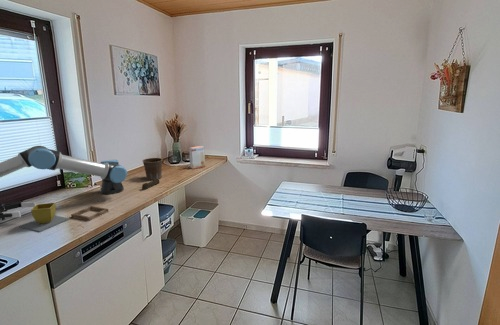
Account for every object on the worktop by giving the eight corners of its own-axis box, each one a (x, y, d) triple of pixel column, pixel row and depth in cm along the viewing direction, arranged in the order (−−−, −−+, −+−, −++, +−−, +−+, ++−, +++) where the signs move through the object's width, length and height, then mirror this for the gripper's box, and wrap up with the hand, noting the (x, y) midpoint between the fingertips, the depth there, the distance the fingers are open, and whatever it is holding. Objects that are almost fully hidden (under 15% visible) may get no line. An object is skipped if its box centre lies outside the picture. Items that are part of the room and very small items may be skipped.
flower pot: (39, 219, 151) (36, 204, 149) (58, 217, 154) (55, 202, 152) (33, 226, 143) (30, 210, 141) (53, 223, 146) (50, 208, 144)
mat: (49, 215, 158) (49, 214, 158) (69, 219, 153) (69, 218, 153) (18, 227, 143) (18, 226, 143) (40, 232, 138) (39, 231, 138)
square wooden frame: (91, 208, 168) (91, 205, 167) (108, 211, 163) (108, 208, 163) (71, 217, 155) (70, 214, 155) (89, 220, 151) (88, 217, 151)
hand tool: (155, 183, 220) (155, 177, 219) (159, 183, 219) (159, 178, 218) (139, 190, 203) (138, 184, 202) (143, 191, 201) (143, 185, 200)
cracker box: (202, 166, 277) (201, 145, 272) (205, 167, 272) (204, 146, 268) (189, 168, 268) (188, 147, 263) (192, 169, 264) (191, 148, 259)
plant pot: (152, 182, 222) (151, 162, 218) (139, 179, 230) (138, 160, 227) (167, 177, 236) (166, 159, 232) (155, 174, 244) (154, 157, 240)
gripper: (-1, 209, 153) (41, 206, 157) (-37, 229, 129) (14, 226, 133) (-4, 196, 151) (39, 194, 155) (-41, 214, 127) (11, 211, 131)
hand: (28, 209), depth 144 cm, fingers open, 13 cm apart
